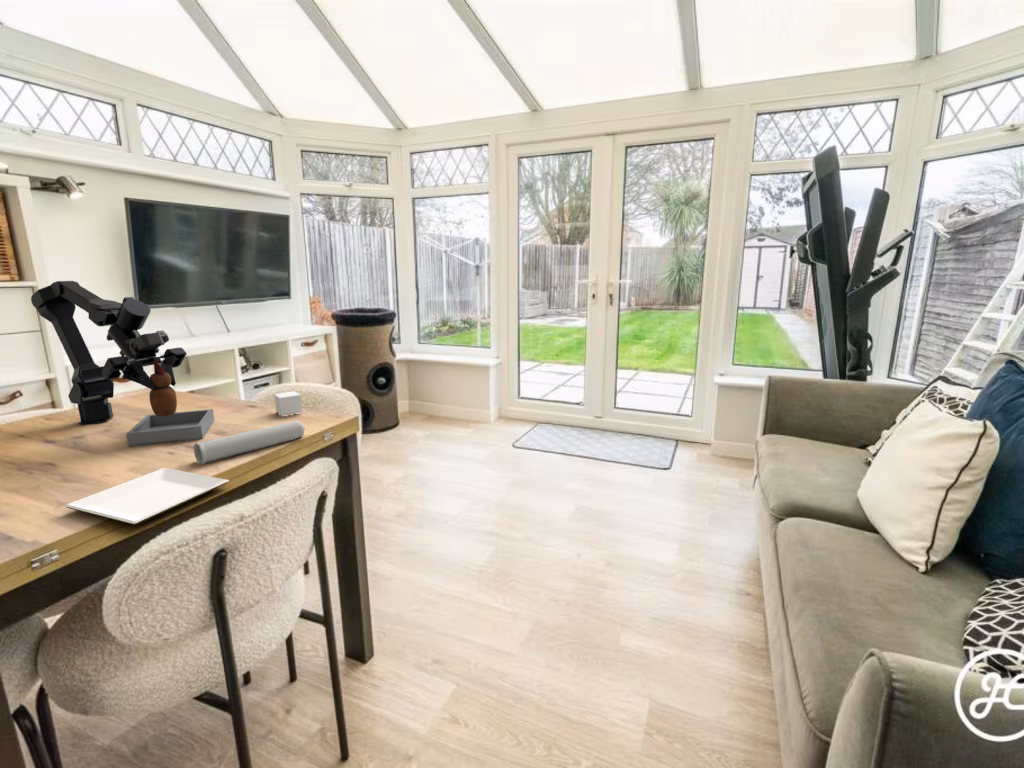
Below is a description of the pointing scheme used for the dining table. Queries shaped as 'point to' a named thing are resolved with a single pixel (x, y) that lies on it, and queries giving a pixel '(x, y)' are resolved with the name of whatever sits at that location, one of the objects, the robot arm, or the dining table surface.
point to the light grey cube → (288, 403)
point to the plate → (147, 495)
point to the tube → (246, 441)
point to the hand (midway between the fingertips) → (164, 386)
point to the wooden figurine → (162, 392)
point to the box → (171, 428)
